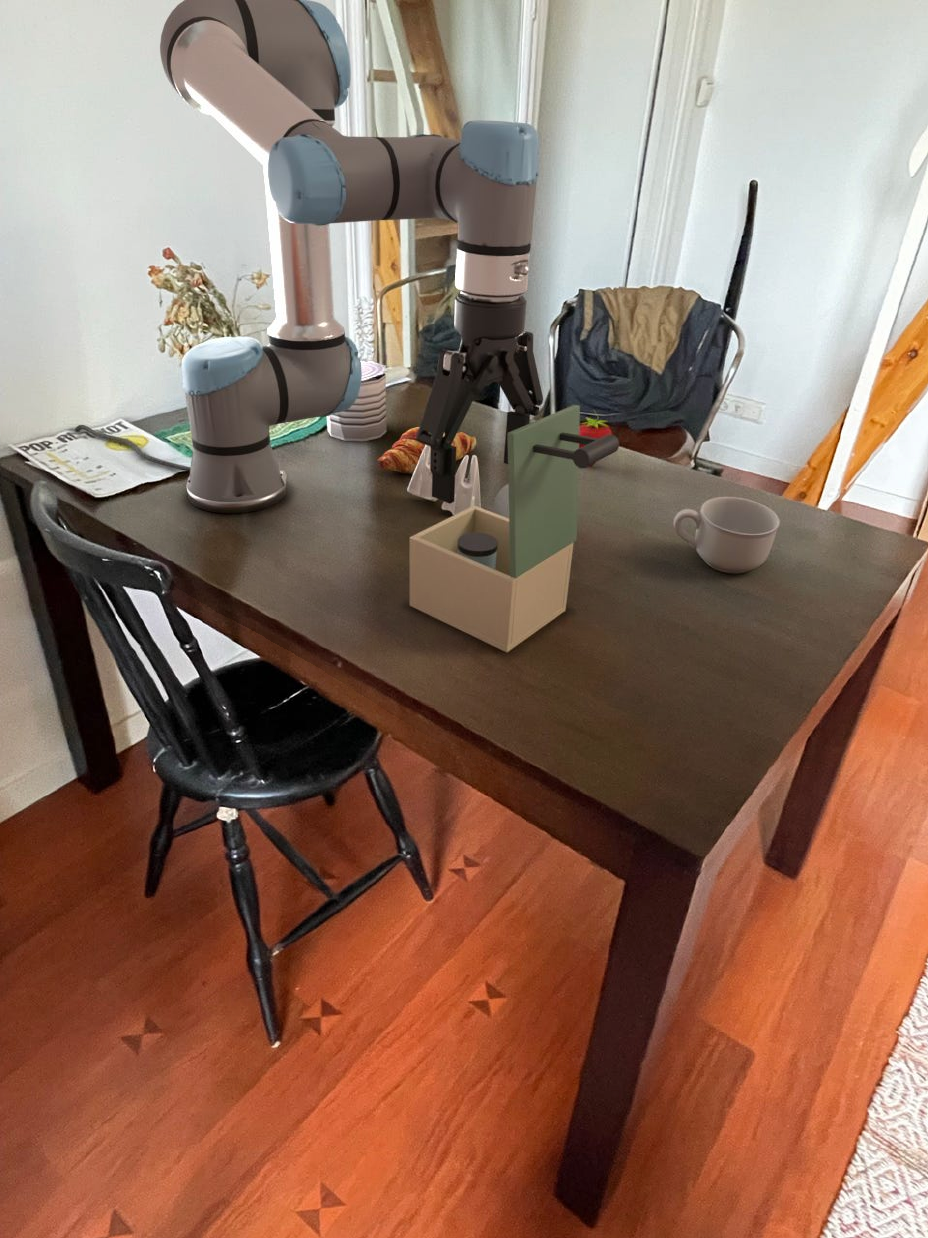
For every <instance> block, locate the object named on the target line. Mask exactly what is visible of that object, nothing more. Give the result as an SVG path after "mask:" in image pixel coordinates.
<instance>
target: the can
mask: <svg viewBox="0 0 928 1238" xmlns="http://www.w3.org/2000/svg"><path fill="white" fill-rule="evenodd" d="M360 361H361V360H360ZM361 368H362V379H361V387H360V391H359V394H358V397H357V399H356V401H355V402H354V403H353V404H352V406H351V407H350V408H349V409H347V410H345V411H343V412H339V413H334V414H332V415H330V416H327V417H326V429H327V432H328V433H329V436H330V438H334V439H338V440H340V441H344V442H367V441H372V440H377V439H380V438H382V437H383V435H385V434H386V433H387V390H386V389H387V383H386V382H387V380H386V377H387V376H386V373H385V370H386V368H387V365H385V364H382V363H379V362H376V361H373V360H364V361H361Z"/></svg>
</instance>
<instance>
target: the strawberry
mask: <svg viewBox="0 0 928 1238" xmlns="http://www.w3.org/2000/svg"><path fill="white" fill-rule="evenodd" d="M593 412H594V415H596V417H597V418H596V419H595V418H594V419H593V418H590V417H587V416H586V417H585V419H586V421H585V422H580V425H579V435H581V436H586V437H592V438H598V439H600V438H602V437H604V436H606V435H608V434H612V430H611V428H610V426H609V425H608V424H606V423H607V422H609V421H608V420H601V419H600V418H599V415H598V414H597V412H596V411H595V410H593ZM599 419H600V420H599ZM612 435H613V434H612ZM583 446H585V444H579V448H581V447H583ZM596 463H597V462H595V463H593V464H591V465H589V466H588V467H593V466H595V464H596Z"/></svg>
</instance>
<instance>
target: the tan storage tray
mask: <svg viewBox="0 0 928 1238" xmlns="http://www.w3.org/2000/svg"><path fill="white" fill-rule="evenodd" d="M468 533H485V534H488V535H491V536H493V537H494V538H496V539H497V541H498V549H497V552H496V568H495V570H494V569H492V568H490V567H487V566H485V565H483V564H480V563H478V562H475V561H473V560H471V559H468V558H466V557H464V556H461V555H459V554H458V547H457V544H458V539H459V537H461V536H462V535H464V534H468ZM574 543H575V542H573V543H571V544H570V545H568V546H567V547H565V548H563V549H562V550H560V551H559V552H557V553H555V554H554V555H552V556H551V557H549V558H547V559H546V560H544V561H543V562H541V563H539V564H538V565H536V566H535V567H533V568H531V569H530V570H528V571H527V572H525V573H523V574H522V575H520V576H519V577H517V578H513V577H510V539H509V518H506V517H503V516H501V515H498V514H495V513H494V512H493V511H491V510H487V509H486V508H485V509H484V508H482V507H481V508H480V507H477V506H472V507H470V508H468V509H466V510H464V511H462V512H460V513H458V514H456V515H452V516H450V517H448V518H445V519H444V520H442V521H440V522H438V523H436V524H434V525H431V526H430V527H427V528H426V529H423V530H422V531H420V532H417V533H416V534H414V535H411V536H410V537H409V606H410V607H412V608H413V609H416V610H418V611H420V612H422V613H424V614H426V615H427V616H430V617H432V618H434V619H436V620H439V621H440V622H442V623H445V624H446V625H449V626H451V627H452V628H455V629H457V630H458V631H461V632H463V633H466V634H467V635H470V636H471V637H473V638H476V639H478V640H480V641H482V642H483V643H486V644H488V645H490V646H492V647H495V649H499V650H500V651H502V652H505V653H508V652H510V651H511V650H513V649H514V648H516V647H518V645H519V644H521V643H523V642H524V641H525V640H527V639H528V638H529V637H531V636H532V635H534V634H535V633H536V632H538V631H539V630H540V629H541V630H542V629H543V627H545V626H547V625H548V624H549V623H550V622H552V621H553V620H554V619H556V618H557V617H559V616H560V615H561V614H563V613H564V612H566V609H567V600H568V594H569V585H570V584H569V583H570V577H571V567H572V561H573V560H572V559H573V551H574Z"/></svg>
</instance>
